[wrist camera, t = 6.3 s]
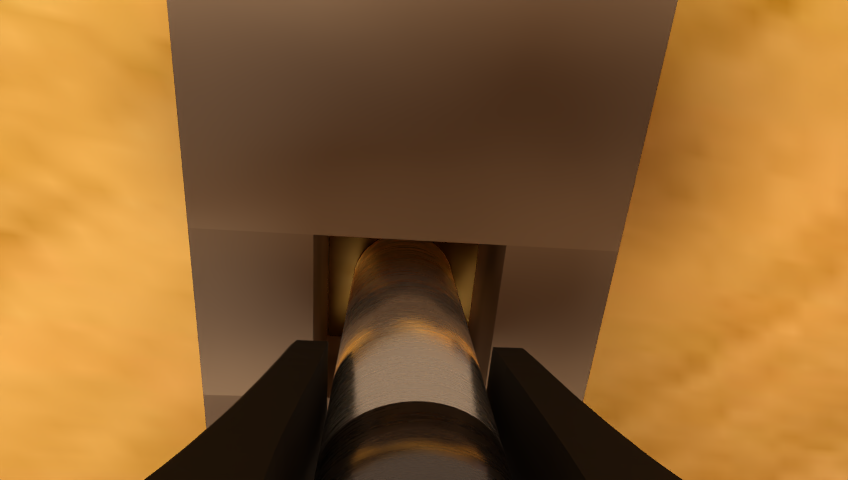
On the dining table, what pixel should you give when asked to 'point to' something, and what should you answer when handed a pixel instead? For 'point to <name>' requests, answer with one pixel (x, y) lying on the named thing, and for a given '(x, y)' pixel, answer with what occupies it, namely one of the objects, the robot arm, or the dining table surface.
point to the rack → (409, 162)
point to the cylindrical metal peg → (408, 377)
